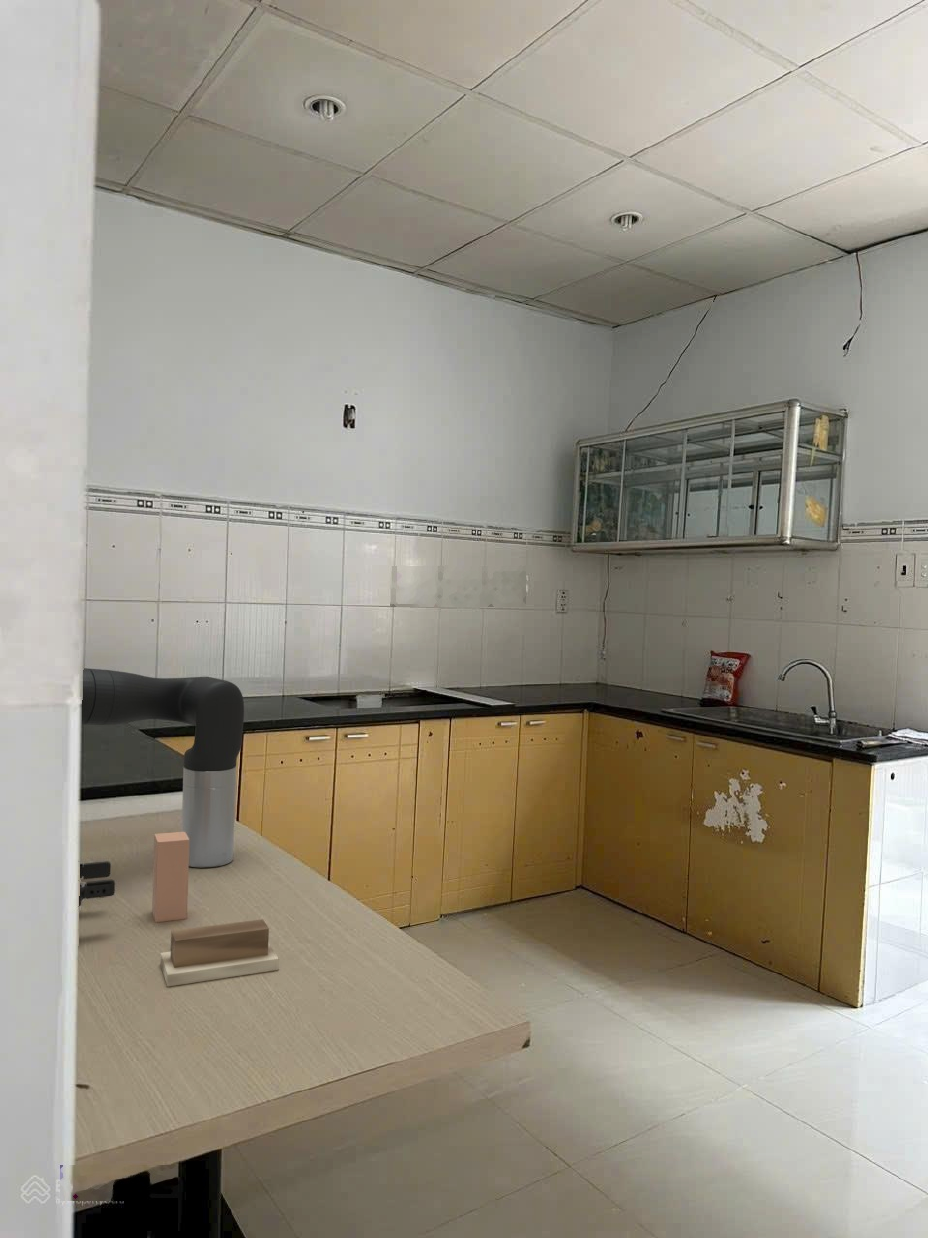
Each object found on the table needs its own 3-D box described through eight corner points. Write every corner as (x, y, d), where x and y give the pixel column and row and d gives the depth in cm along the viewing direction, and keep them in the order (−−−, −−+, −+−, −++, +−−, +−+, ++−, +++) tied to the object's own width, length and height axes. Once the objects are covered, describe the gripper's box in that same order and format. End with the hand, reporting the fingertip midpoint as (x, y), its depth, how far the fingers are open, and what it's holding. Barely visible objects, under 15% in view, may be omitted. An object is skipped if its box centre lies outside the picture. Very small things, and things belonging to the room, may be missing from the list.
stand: (160, 964, 117) (161, 926, 117) (265, 949, 123) (267, 913, 123) (167, 986, 110) (168, 947, 110) (278, 970, 117) (279, 932, 116)
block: (151, 911, 135) (154, 834, 134) (182, 908, 137) (184, 831, 136) (155, 922, 131) (157, 842, 130) (186, 918, 133) (189, 839, 132)
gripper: (-15, 880, 116) (117, 867, 123) (-10, 849, 129) (109, 839, 136) (-16, 936, 117) (115, 920, 124) (-11, 899, 129) (108, 887, 136)
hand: (112, 877), depth 130 cm, fingers open, 8 cm apart
